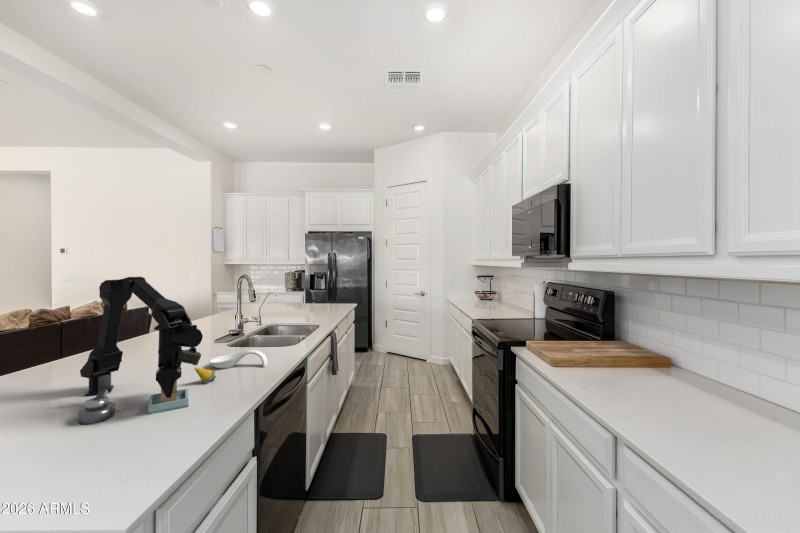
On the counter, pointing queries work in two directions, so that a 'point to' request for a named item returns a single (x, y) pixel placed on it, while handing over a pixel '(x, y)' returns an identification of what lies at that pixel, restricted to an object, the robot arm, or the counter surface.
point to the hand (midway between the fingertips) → (169, 393)
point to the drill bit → (205, 374)
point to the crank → (100, 394)
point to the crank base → (96, 415)
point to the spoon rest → (235, 359)
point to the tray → (157, 406)
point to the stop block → (173, 396)
